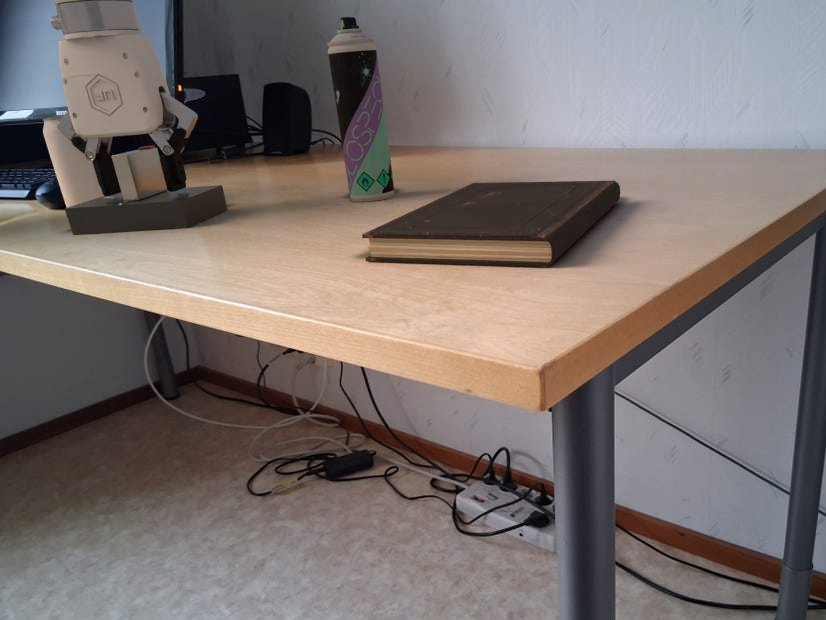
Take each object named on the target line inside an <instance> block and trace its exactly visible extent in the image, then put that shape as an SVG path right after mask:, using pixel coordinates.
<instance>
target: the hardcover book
mask: <svg viewBox="0 0 826 620" xmlns="http://www.w3.org/2000/svg"><path fill="white" fill-rule="evenodd" d="M620 199H621V186H620V183H618V182H617V181H616V180H569V181H568V180H567V181H566V180H565V181H563V180H562V181H508V182H507V181H505V182H503V181H501V182H500V181H498V182H497V181H496V182H495V181H494V182H472V183H470V184H468V185H466V186H465V185H464V186H463V187H461V188H459V189H456V190H455V191H452V192H451V193H448V194H446V195H444V196H442V197H439V198H438V199H435V200H433V201H431V202H428V203H427V204H424V205H422V206H420V207H418V208H416V209H414V210H412V211H409V212H407V213H405V214H402V215H401V216H398V217H396V218H395V219H392V220H390V221H388V222H386V223H383V224H381V225H379V226H377V227H375V228H372V229H370V230H368V231H366V232H364V233H362V234H361V238H362V239H368V243H369V244H368V250H369V253H370V255H369V256H366V257H365V258H364V259H365V262H368V263H370V262H371V263H395V264H396V263H398V264H399V263H400V264H401V263H402V264H427V265H429V264H431V265H458V266H459V265H461V266H491V267H516V268H517V267H519V268H548V267H550V266H551V265H552V264H553V263H554V262H555V261H557V260H558V259H559V258H560V257H561V256H562V255H563V253H565V252H566V251H567V250H568V249H569V248H570V247H571V246H573V244H574V243H576V242H577V241H578V240H579V239H580V238H581V237H582V236H583V235H585V233H586V232H587V231H588V230H589V229H590V228H592V226H594V224H596V223H597V222H598V221H599V220H600V219H601V218H602V217H603V216H604V215H605V214H606V213H608V212H609V210H611V209H612V208H613V206H615V205H616V204H617V203H618V202H619V200H620Z"/></svg>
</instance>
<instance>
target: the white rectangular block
mask: <svg viewBox="0 0 826 620" xmlns="http://www.w3.org/2000/svg"><path fill="white" fill-rule="evenodd" d="M111 157H112V160H113V163H114V167H115V171H116V174H117V178H118V181H119V185H120V188H121V192H122V196H123V199H124V201H136V200H141V199H144V198H147V197H150V196H152V195H155V194H158V193H161V192H164V191H167V187H166V183H165V179H164V175H163V171H162V167H161V163H160V154H159V150H158V147H156V146H155V145H147V146H145V145H144V146H139V147H138V149H135V150H130V151H126V152H122V153H118V154H113V155H111Z"/></svg>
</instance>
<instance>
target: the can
mask: <svg viewBox="0 0 826 620" xmlns="http://www.w3.org/2000/svg"><path fill="white" fill-rule="evenodd" d="M62 118H63V116H55V117H47V118H42V121H43V128H42V133H43V138H44V141H45V144H46V147H47V150H48V154H49V157H50V160H51V163H52V167H53V169H54V173H55V176H56V179H57V181H58V186H59V188H60V192H61V194H62V199H63V201H64V204H65V206H66V207H65V208H67V207H70V206H74V205H77V204H80V203H83V202H87V201H90V200H93V199H96V198H100V197H103V196H104V195H103V193H102V189H101V187H100V186H99V183H98V180H97V176H96V173H95V169H94V166H93V163H92V161H89V160H87V159H86V157H85V154H83V153H82V152H81V151H80V150H78V149H77V148H76V147H74V146H73V144H72V142H71V141H69V140H68V139H67V138H66V137H65V136H64V135H63V134H62V133H61V132H60V131H59V130H58V128H57V125H58V123H59V122H60V120H61V119H62Z"/></svg>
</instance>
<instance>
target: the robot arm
mask: <svg viewBox="0 0 826 620" xmlns="http://www.w3.org/2000/svg"><path fill="white" fill-rule="evenodd" d="M53 2H54V5H55V11H56V14H57V15H55V16H51V17H50V24H51V26H52V28H53V29H54V30H56V31H61V32H62V35H63V36H64V39H65V40H59V41H58V45H57V46H58V60H59V61H58V63H59V69H60V77H61V82H62V89H63V92H64V97H65V101H66V106H67V109H68V110H67V111H66V112H65V113H64V115H63V116H62V117H63V118H62V119H61V120H60V122H59V123H58V125H57V128H58V130H59V131H60V132H61V133H62V134H63V135H64V136H65V137H66V138H67V139H68V140H69V141H71V142H72V144H73V146H74V147H76V148H77V149H78V150H80V151H81V152H82V153H83V154H85V157H86V159H87V160H89V161H92V163H93V166H94V169H95V173H96V176H97V180H98V183H99V186H100V187H101V189H102V193H103V195H104V196H111V195H114V194H117V193H121V188H120V185H119V181H118V178H117V174H116V171H115V167H114V163H113V160H112V156H110V152H111V147H112V141H113V137H125V136H136V135H144V134H148V135H149V136H150V138H151V139H152V140H153V142H154V143H155V144H156V145H157V148H159V149H160V150H161V152H162V154H163V155H159V157H160V163H161V167H162V171H163V175H164V179H165V183H166V187H167V190H168V191H170V192H175V191H178V190H180V189H183V188H187V182H186V181H187V174H186V169H185V165H184V161H183V157H182V152H184V150H185V146H186V145H187V143H188V141H189V139H190V137H191V136H192V131H193V130H194V128H195V126H196V123H197V121H198V117H199V116H198V114H197V113H196V111H194V110H192V109H191V108H189V107H188V106H186V105H185V104H184V103H182V102H181V101H179V100H177V99H176V98H175V97H174V96H171V93H170V89H169V87H168V83H167V80H166V76H165V74H164V72H163V71H164V70H163V68H162V66H161V63H160V60H159V59H158V56H157V52H156V50H155V49H154V47H153V44H152V42H151V40H150V38H149V36H148V35H147V34H143V33H142V29H141V25H140V21H139V17H138V13H137V9H136V5H135V0H53ZM176 118H177V119H178V122H177V126H176V128H175V129H174V130H173V129H172V128H173V127H174V126H175V124H176Z"/></svg>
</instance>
